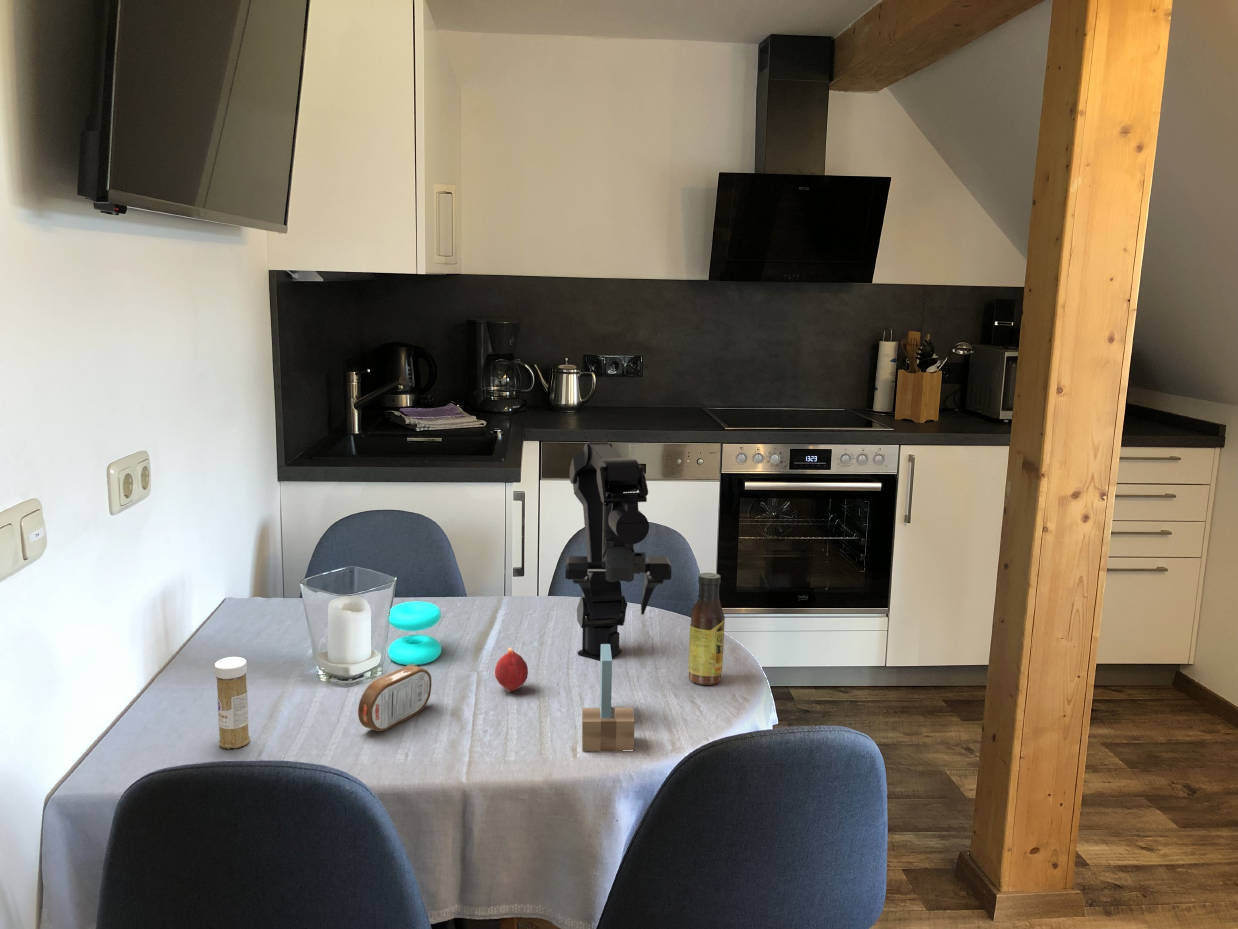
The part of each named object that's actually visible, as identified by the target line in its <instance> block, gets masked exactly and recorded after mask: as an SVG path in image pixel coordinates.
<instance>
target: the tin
mask: <svg viewBox="0 0 1238 929" xmlns="http://www.w3.org/2000/svg"><path fill="white" fill-rule="evenodd" d="M432 684H433V683H432V675H431V674H430V672H429V671H428V670H427V669H425V668H423V667H421V666H419V665H413V664H411V665H405V666H403V667H400V668H399V669H396V670H393V671H392V672H390V673H387V674H385V675H382V676H380V677H378V678H376V679H375V680H373V681H372V682H370V683H369V684H368V685H367V687H366V688H365V689H364V691H363V693H362V695H361V697H360V699H359V703H358V710H357V716H358V720H359V722H360V724H361V726H363V727H364V728H367V729H371V730H373V731H376V732H384V731H387V730H389V729H390V728H392V727H394V726H396V725H398V724H400V723H402V722H405V721H406V720H408V719H410V718H412V717H415V716H416V715H418V714H419V713H420V712H422V710H424V708H425V707H426V705H427V704H428V702H429V699H430V697H431V693H432Z"/></svg>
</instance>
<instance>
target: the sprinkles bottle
mask: <svg viewBox="0 0 1238 929" xmlns="http://www.w3.org/2000/svg"><path fill="white" fill-rule="evenodd" d="M247 665H248V664H247V660H246V659H245V658H243V657H238V656H230V657H225V658H222V659H221V658H220V659H219V660H217V661H216V662H215V664H214V675H215V678H216V688H217V689H216V690H217V717H218V718H217V719H218V721H217V722H218V728H219V729H218V732H219V740H218V744H219V746H220V748H223V749H226V748H227V749H229V750H231V749H230V748H234V749H238V748H242V747H243V746H246V745H248V744H249V742H250V740H251V739H250V736H249V733H250V732H249V704H248V700H249V699H248V688H247V687H248V686H247V671H248V666H247ZM241 746H242V747H241Z"/></svg>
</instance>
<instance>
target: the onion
mask: <svg viewBox="0 0 1238 929" xmlns="http://www.w3.org/2000/svg"><path fill="white" fill-rule="evenodd" d="M507 649H508V650H507V653H504V655H502V656H501V657H500V658H499V659H498V661H497V662H496V665H495V668H494V669H495V670H494V677H495V679H496V681H497V682H498V684H499V685H500V686H502V687H503V688H504V689H505V690H506V691H508V692H514V691H516V690H518V689H519V688H520V687H521V686H522V685H524V684H525V683H526V681H527V679H528V674H529V668H528V664H527V662H526V661H525V660H524V658H523V656H521V655H520V654H518V653H517V652H515V651H514V650H513V648H512V647H508V648H507Z"/></svg>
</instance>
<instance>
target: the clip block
mask: <svg viewBox="0 0 1238 929" xmlns="http://www.w3.org/2000/svg"><path fill="white" fill-rule="evenodd" d="M581 710H582V712H581V716H582V717H581V749H582V750H581V751H619V752H624V751H623V750H634V751H635V715H634V708H633V707H614V718H611V719H601V715H600V707H582V709H581Z"/></svg>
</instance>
